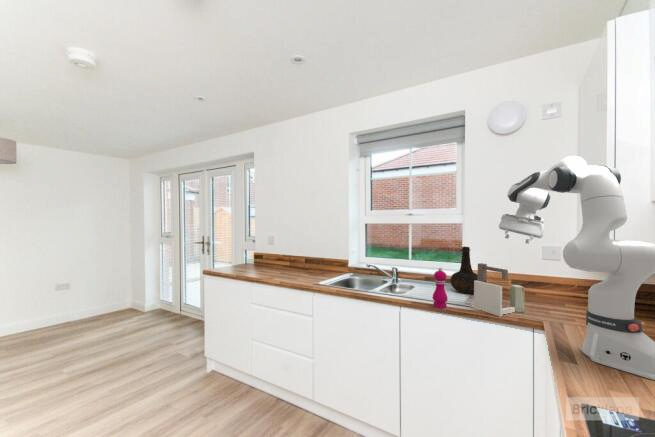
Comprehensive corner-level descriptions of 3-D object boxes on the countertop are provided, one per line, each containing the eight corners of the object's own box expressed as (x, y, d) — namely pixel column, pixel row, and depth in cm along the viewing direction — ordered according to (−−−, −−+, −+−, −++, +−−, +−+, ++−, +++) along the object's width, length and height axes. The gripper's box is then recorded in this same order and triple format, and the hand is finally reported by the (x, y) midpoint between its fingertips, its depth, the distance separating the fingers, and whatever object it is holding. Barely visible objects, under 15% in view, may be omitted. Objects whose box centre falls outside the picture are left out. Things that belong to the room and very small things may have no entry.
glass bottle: (486, 292, 183) (486, 246, 182) (476, 297, 170) (477, 249, 170) (456, 287, 195) (457, 244, 195) (445, 291, 182) (446, 246, 182)
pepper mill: (448, 309, 148) (449, 269, 148) (433, 308, 149) (434, 268, 149) (445, 305, 155) (446, 267, 155) (431, 304, 156) (431, 266, 156)
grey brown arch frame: (507, 313, 142) (508, 267, 142) (503, 313, 141) (504, 268, 141) (481, 304, 156) (481, 263, 155) (477, 305, 154) (477, 263, 154)
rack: (516, 313, 142) (517, 284, 142) (500, 316, 137) (500, 286, 137) (489, 305, 155) (490, 278, 155) (473, 308, 150) (474, 280, 150)
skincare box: (525, 312, 143) (525, 287, 143) (515, 312, 144) (515, 287, 144) (518, 308, 150) (519, 284, 150) (509, 308, 150) (509, 284, 150)
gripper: (502, 210, 163) (494, 233, 161) (547, 219, 151) (539, 243, 148) (503, 215, 168) (495, 237, 165) (546, 224, 155) (538, 248, 153)
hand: (516, 240), depth 157 cm, fingers open, 8 cm apart
